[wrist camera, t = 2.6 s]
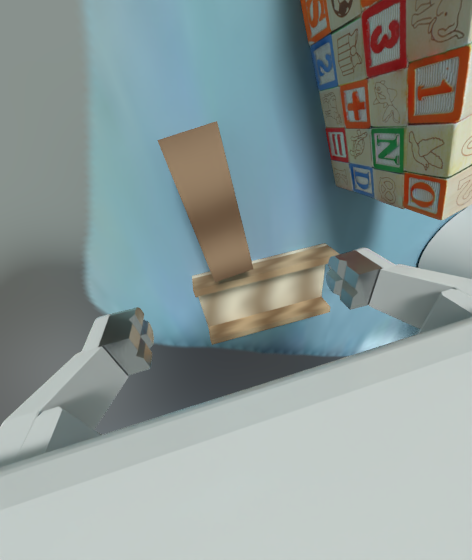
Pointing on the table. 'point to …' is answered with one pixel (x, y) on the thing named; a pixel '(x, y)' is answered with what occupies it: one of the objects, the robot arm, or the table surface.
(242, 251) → the walnut block
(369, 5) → the stack of blocks
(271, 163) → the table surface
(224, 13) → the table surface
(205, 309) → the tan shallow tray
